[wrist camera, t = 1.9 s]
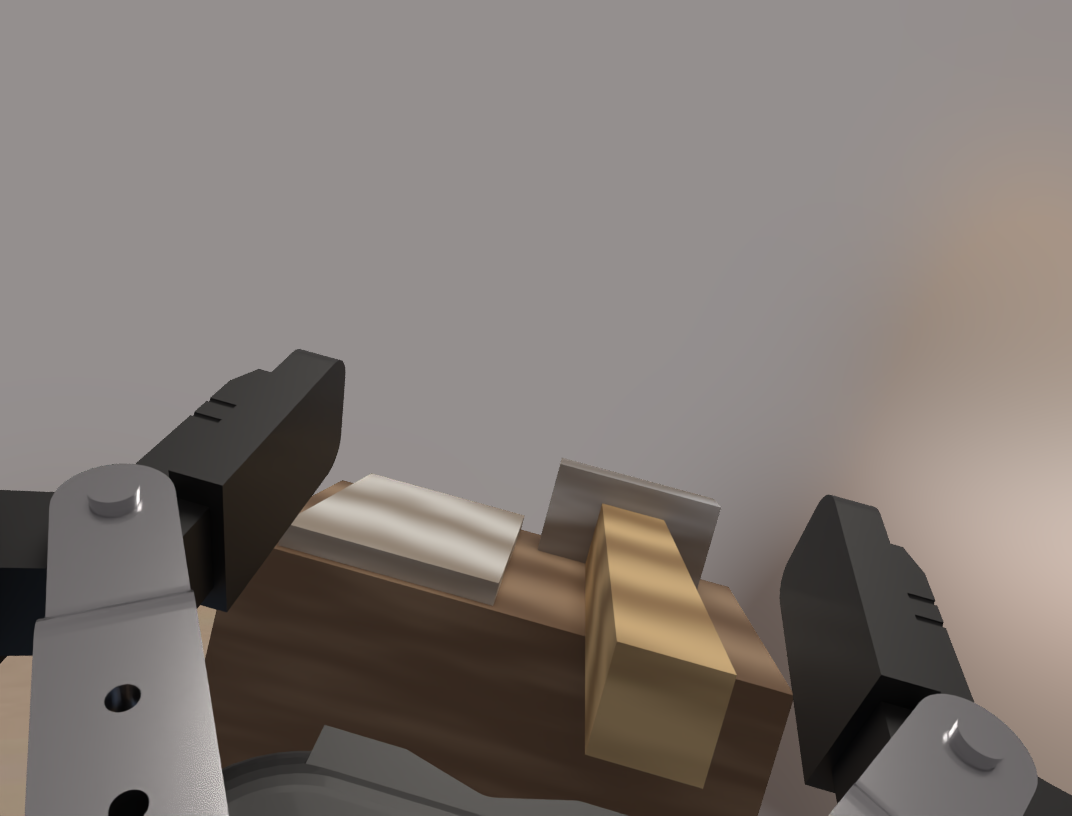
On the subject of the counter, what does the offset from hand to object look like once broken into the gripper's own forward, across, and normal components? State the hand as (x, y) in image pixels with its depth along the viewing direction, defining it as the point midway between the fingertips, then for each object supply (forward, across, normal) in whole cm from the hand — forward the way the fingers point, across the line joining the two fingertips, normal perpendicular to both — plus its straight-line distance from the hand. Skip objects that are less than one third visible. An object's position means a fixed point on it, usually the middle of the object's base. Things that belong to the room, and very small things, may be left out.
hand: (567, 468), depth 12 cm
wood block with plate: (+13, -4, +17) cm, 22 cm away
